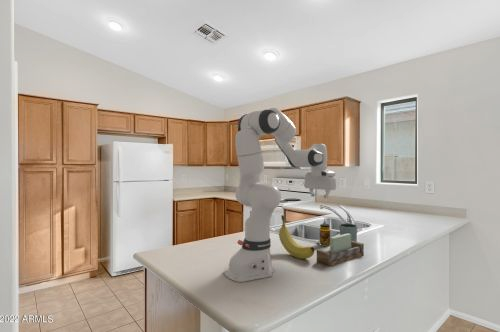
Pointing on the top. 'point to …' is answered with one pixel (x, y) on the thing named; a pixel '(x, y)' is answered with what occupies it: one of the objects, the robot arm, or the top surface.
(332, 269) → the top surface
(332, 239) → the door panel
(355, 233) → the grey-green cup
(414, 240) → the top surface
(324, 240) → the condiment
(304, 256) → the banana
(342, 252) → the track base
